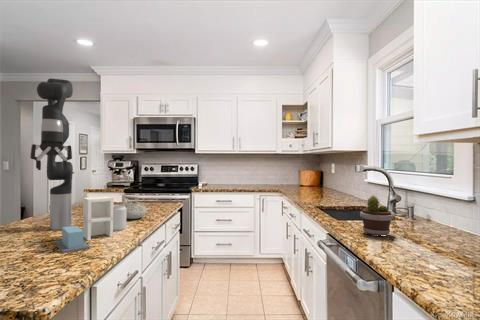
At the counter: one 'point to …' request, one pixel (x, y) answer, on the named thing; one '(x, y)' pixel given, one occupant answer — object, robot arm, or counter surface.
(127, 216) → the decorative shell
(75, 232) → the block
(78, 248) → the mat
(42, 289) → the counter surface
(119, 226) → the can
